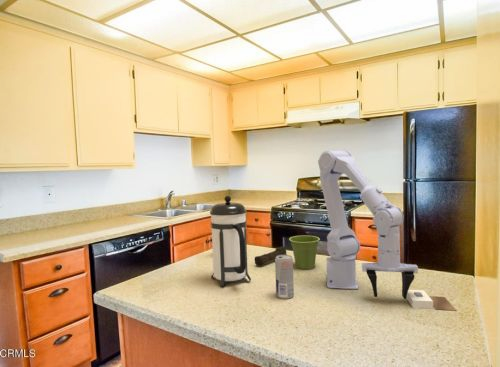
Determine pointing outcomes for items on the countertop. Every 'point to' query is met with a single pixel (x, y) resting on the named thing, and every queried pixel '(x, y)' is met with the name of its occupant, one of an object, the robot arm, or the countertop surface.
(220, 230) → the coffee press
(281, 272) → the energy drink
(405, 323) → the countertop surface
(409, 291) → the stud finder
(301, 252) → the plant pot
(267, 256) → the hand tool
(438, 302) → the brown flat slab
